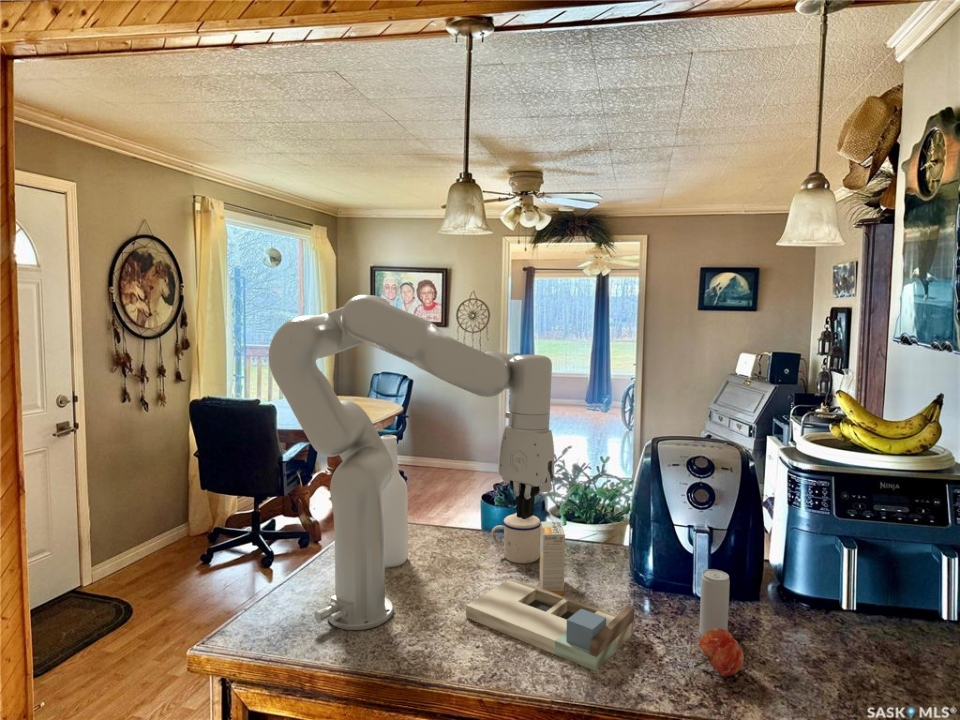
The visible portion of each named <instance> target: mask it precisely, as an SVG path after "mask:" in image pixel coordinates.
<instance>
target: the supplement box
mask: <svg viewBox="0 0 960 720" xmlns="http://www.w3.org/2000/svg"><path fill="white" fill-rule="evenodd" d="M540 522H541V525H540V556H539V582H540V587H541V589H543V590H546V591H549V592H552V593H555V594H558V595H564V594H565V593H564V591H565V558H566V557H565V554H566V534H565V530H564V527H563V525H562V522H561V521H540Z"/></svg>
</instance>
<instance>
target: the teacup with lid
mask: <svg viewBox="0 0 960 720" xmlns="http://www.w3.org/2000/svg"><path fill="white" fill-rule="evenodd" d="M541 522H542V521H541V520H540V518H539V517H537V516H536V515H533V516H531V517H529V518H526V519H522V518H518V517H517V512H515V513H512V514H509V515H506V517H504V519H503V521H502V524H503V525H496V526H494V527H493V528H492V529H491V539H492V541H493V542H494V544H495V545H497V546H500V547H503V556H504V558H505V559H506V560H508V561H509V562H511V563H515V564H530V563H531V564H532V563H534V562H536V561H538V559H540V525H541ZM497 530H503V541H499V540H498V539H497V538H496V534H495V532H496V531H497Z"/></svg>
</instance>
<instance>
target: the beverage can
mask: <svg viewBox="0 0 960 720" xmlns="http://www.w3.org/2000/svg"><path fill="white" fill-rule="evenodd" d="M701 573H702V575H701V582H700V603H699V606H700V607H699V608H700V609H699V634H700V636H701V637H702V636H703V635H704V634H705V633H706V632H707V631H709V630H711V629H715V628H720V629H724V630H726V631H728V629H729V628H728V627H729V626H728V624H729V607H730V605H729V603H730V584H731V583H730V581H731V580H730V575H729V574H728V573H727V572H724V571H723V570H718V569H715V568H714V569H713V568H712V569H711V568H710V569H709V568H708V569H705V570H703V571H702V572H701Z"/></svg>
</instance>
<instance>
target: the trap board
mask: <svg viewBox="0 0 960 720" xmlns="http://www.w3.org/2000/svg"><path fill="white" fill-rule="evenodd" d="M465 607H466V608H465V613H466V614H465V618H466V617H467V618H466V619H469V618H470V619H469V620H471V619H472V620H471V621H473V620H475V621H474V622H475V623H478V622H479V624H481V625H483V624H484V626H485V625H486V627H488V626H489V627H488V628H490V629H493V630H495V631H497V630H498V632H500V633H503V634H505V635H507V636H509V637H512V638H515V639H517V640H520V641H522V642H524V643H527V644H529V645H532V646H534V647H536V648H538V649H542V650H544V651H546V652H549V653H551V654H554V655H555V656H557V657H561V658H563V659H565V660H567V661H570V662H572V663H575V664H578V665H580V666H582V667H584V668H587V669H589V670H592V671H593V672H597V671H598V670H599V669H600V668H601V667H602V666H603V665H604V664H605V663H606V662H607V661H608V660H609V659H610V658H611V657H612V656H613V655H614V654H615V653H616V652H617V651H618V650H619V649H620V647H622V646H623V645H624V644H625V643H626V642H627V641H628V640H629V639H630V637H632V635H634V631H635V630H634V628H635V607H634V606H631V605H627V606H626V607H625V608H624V609H622V611H621V612H620V613H619V614H616V613H613V612H610V611H607V610H604V609H602V608H598V607H595V606H592V605H590V604H586V603H584V602H582V601H578V600H575V599H572V598H569V597H567V596H564V595H562V594H555V593H552V592H549V591H546V590H543V589H542V588H540V587H537V586H535V585H532V584H528V583H525V582H523V581H519V580H517V579H514V578H511V577H510V578H509V579H506V580H505V581H503V582H502V583H500V584H499V585H497V586H495V587H494V588H491V590H489V591H486V592H485V593H484V594H482V595H480V596H479V597H478V598H475V599H474V600H472V601H471V602H469V603H467V604H466V605H465ZM580 609H583V610H586V611H589V612H592V613H595V614H597V615H600V616H603V617H606V627H604V628H603V629H602V630H601V631H600V632H599V633H598V634H597V635H596V636H595V637H593V638H592V639H591V640H590V651H588V650H585V649H583V648H581V647H578V646H576V645H573V644H571V643H568V642H566V635H567V619H568V618H570V617H571V616H572V615H574V614H575V613H576V612H577V611H579V610H580Z"/></svg>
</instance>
